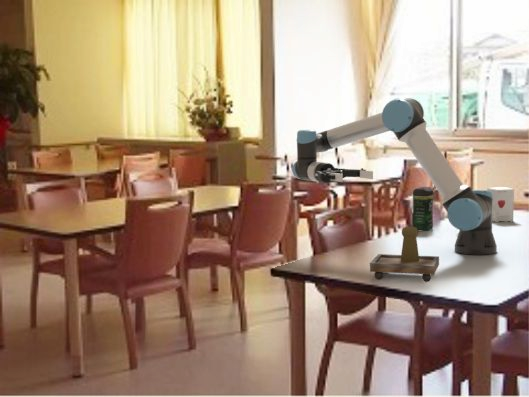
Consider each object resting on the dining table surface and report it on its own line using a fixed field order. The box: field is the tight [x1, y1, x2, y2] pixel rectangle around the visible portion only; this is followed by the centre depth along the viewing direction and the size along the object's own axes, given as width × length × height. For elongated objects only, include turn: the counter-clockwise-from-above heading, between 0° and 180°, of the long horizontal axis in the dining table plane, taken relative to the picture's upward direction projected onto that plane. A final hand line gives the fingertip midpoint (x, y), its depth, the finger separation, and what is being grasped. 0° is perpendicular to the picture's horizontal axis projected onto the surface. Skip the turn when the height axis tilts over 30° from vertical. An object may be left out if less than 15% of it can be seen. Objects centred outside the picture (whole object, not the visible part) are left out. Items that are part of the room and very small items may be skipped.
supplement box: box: [486, 186, 515, 223], centre depth 374 cm, size 9×9×15 cm
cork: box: [400, 226, 420, 262], centre depth 267 cm, size 6×6×11 cm
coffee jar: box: [411, 186, 434, 231], centre depth 354 cm, size 10×8×19 cm
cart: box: [369, 253, 440, 283], centre depth 265 cm, size 20×15×6 cm
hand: (357, 176), depth 291 cm, fingers open, 13 cm apart
